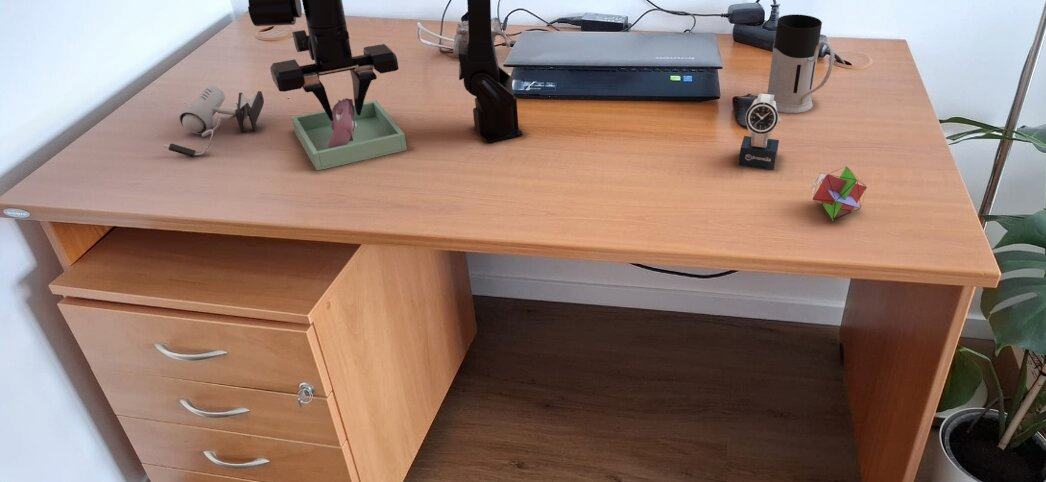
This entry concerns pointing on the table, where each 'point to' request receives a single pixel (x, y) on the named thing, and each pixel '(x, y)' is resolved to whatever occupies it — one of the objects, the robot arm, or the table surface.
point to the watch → (760, 134)
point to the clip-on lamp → (204, 108)
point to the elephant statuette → (463, 32)
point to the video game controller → (342, 123)
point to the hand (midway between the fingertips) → (345, 117)
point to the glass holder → (796, 62)
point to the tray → (369, 137)
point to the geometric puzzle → (838, 192)
